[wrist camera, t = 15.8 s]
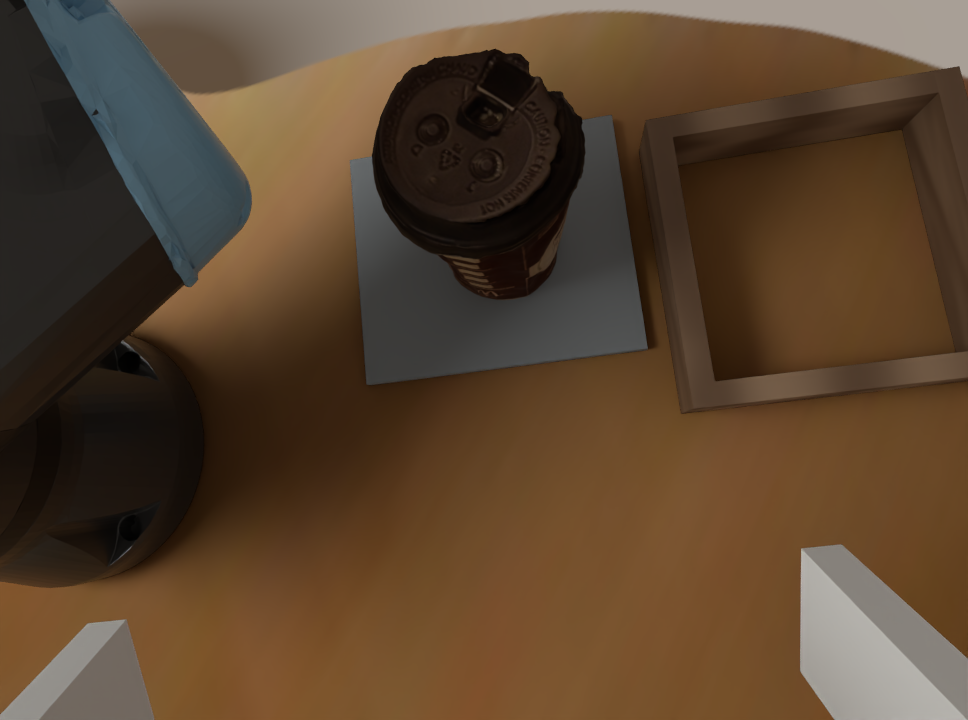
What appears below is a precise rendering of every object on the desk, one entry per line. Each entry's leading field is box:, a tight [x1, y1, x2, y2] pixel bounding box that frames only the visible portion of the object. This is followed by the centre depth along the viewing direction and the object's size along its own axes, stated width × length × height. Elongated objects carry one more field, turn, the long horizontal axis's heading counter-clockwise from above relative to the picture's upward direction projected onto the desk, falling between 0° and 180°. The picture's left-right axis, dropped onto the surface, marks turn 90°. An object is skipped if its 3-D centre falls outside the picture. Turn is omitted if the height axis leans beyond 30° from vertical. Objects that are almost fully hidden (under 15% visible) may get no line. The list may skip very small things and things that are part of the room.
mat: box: [350, 115, 648, 385], centre depth 36 cm, size 16×14×1 cm
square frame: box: [639, 67, 968, 414], centre depth 32 cm, size 15×15×4 cm
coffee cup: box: [372, 49, 586, 300], centre depth 29 cm, size 9×8×13 cm
